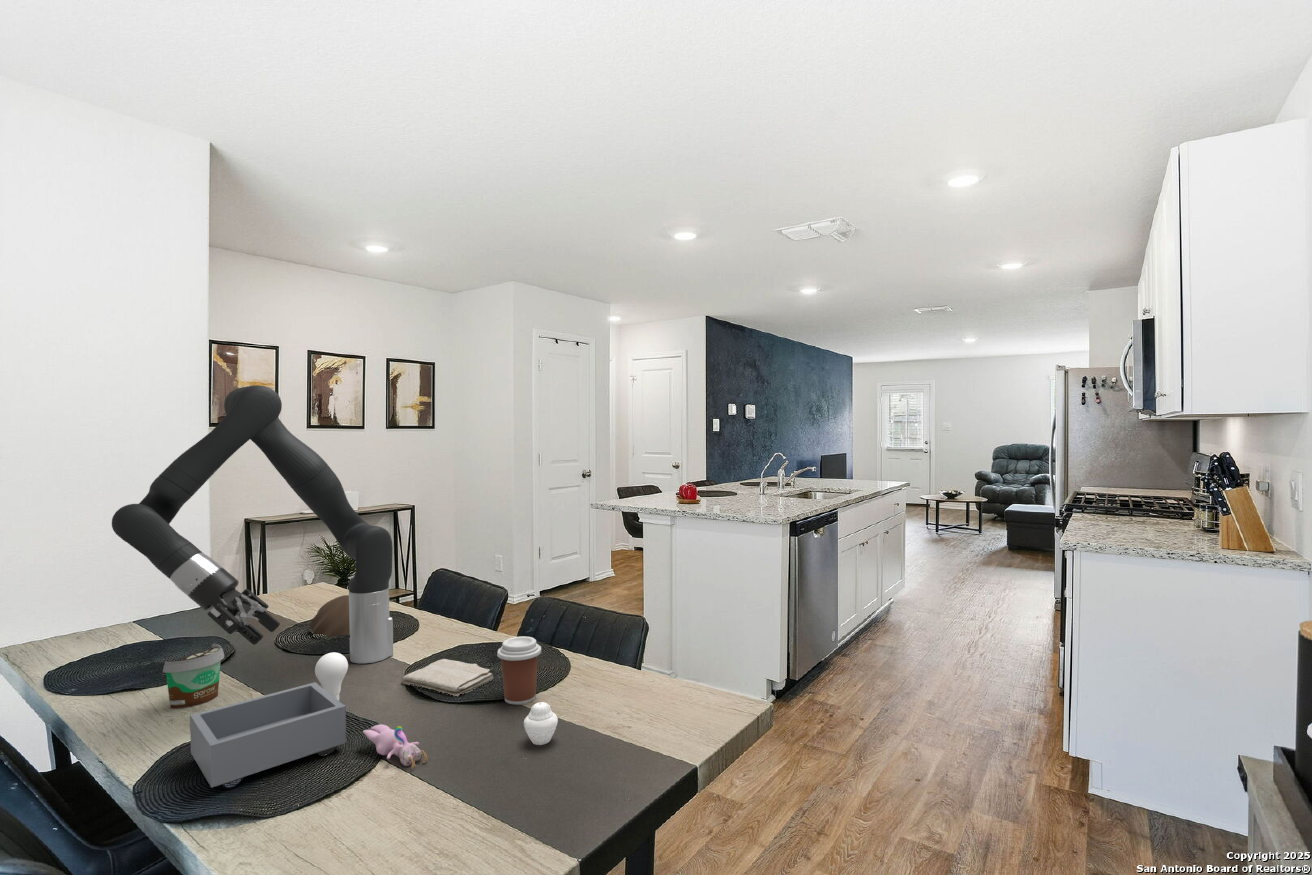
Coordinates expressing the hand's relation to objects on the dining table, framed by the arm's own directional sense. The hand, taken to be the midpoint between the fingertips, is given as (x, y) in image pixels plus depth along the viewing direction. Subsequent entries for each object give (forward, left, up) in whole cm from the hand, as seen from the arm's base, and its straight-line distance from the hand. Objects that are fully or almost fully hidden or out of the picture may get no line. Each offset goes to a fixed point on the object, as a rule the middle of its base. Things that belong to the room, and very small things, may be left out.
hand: (268, 634), depth 131 cm
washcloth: (-33, +12, -16) cm, 39 cm away
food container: (+8, -17, -16) cm, 25 cm away
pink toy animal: (-10, +36, -16) cm, 41 cm away
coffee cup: (-39, +32, -16) cm, 53 cm away
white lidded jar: (-31, +51, -16) cm, 61 cm away
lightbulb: (-10, +7, -16) cm, 20 cm away
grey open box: (+5, +21, -16) cm, 26 cm away
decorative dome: (-32, -47, -16) cm, 59 cm away
